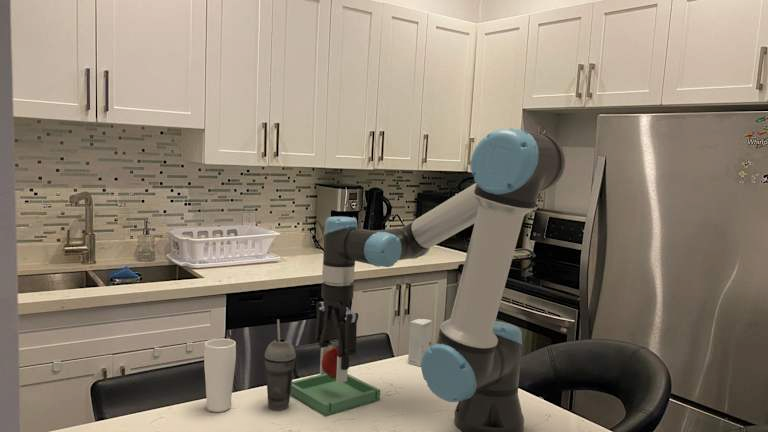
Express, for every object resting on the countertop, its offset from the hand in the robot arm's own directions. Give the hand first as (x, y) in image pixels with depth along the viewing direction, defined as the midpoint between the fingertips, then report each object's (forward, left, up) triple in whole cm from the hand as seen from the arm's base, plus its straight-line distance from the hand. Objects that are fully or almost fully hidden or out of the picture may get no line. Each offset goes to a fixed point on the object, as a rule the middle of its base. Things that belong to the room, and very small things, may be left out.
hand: (333, 377), depth 144 cm
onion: (0, 0, 0) cm, 0 cm away
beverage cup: (+2, +14, -5) cm, 15 cm away
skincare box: (+6, -35, -5) cm, 36 cm away
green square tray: (0, 0, -5) cm, 5 cm away
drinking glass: (+9, +25, -5) cm, 27 cm away
